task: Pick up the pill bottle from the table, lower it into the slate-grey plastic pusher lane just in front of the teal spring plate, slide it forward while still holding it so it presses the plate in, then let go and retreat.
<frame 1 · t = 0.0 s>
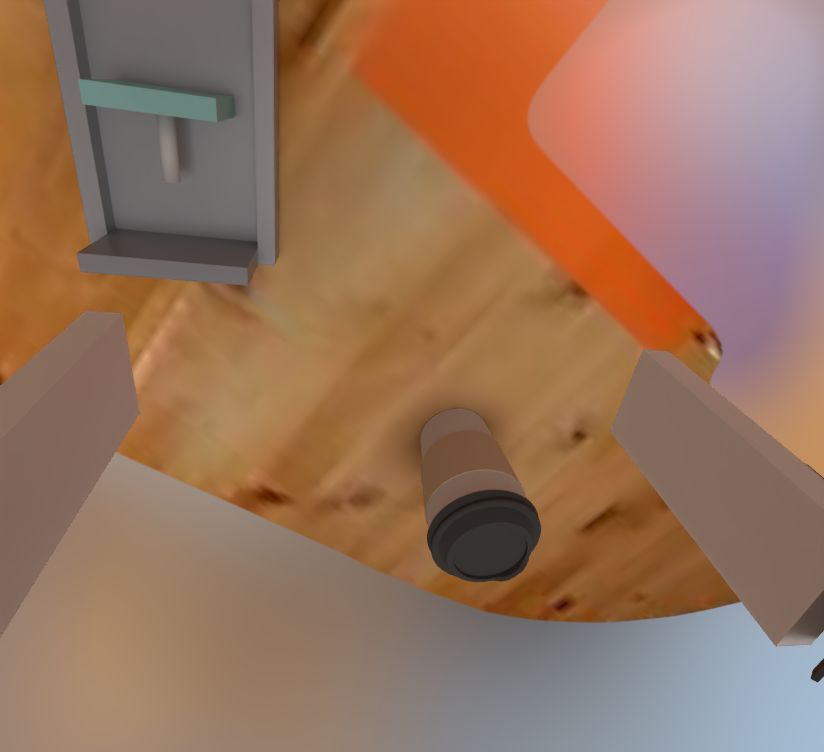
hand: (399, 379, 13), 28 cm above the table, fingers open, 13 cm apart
coffee cup: (453, 434, 50), on the table
lane: (178, 62, 32), on the table
pusher: (167, 136, 30), point 4 cm above the table, slide at 0.0 cm
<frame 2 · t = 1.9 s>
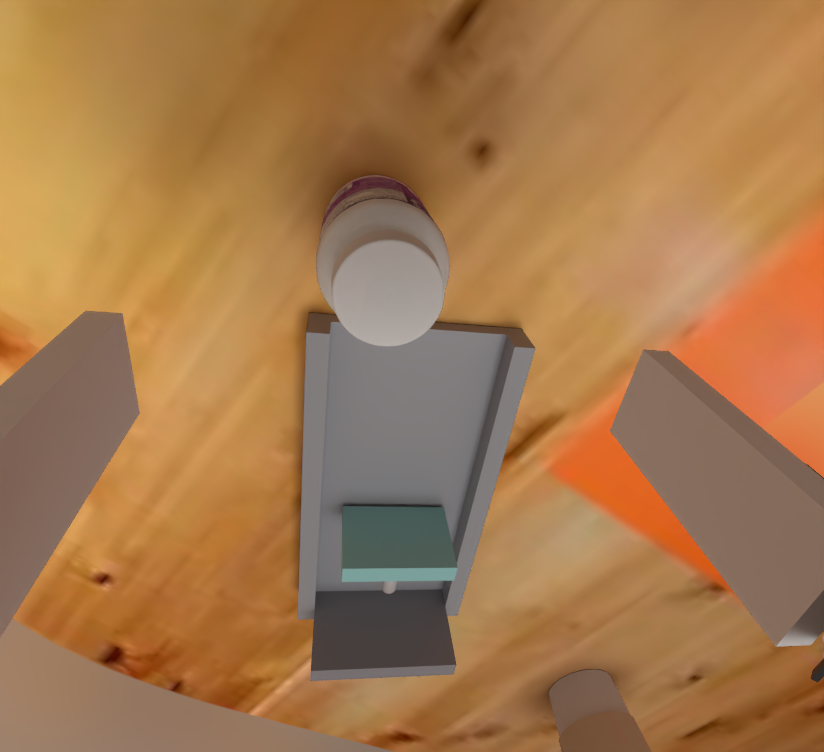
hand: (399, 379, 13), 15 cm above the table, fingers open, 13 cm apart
pill bottle: (375, 226, 25), on the table
coffee cup: (579, 685, 53), on the table
lane: (395, 478, 34), on the table
pusher: (392, 562, 33), point 4 cm above the table, slide at 0.0 cm
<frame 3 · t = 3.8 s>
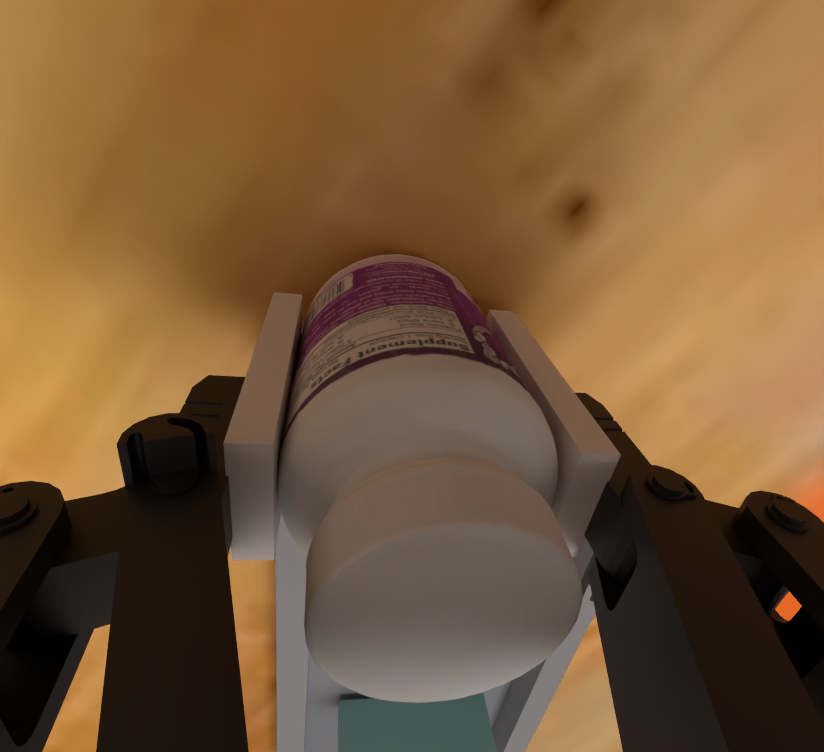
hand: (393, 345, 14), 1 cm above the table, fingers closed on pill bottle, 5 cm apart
pill bottle: (391, 330, 15), on the table, touching gripper
lane: (413, 652, 24), on the table
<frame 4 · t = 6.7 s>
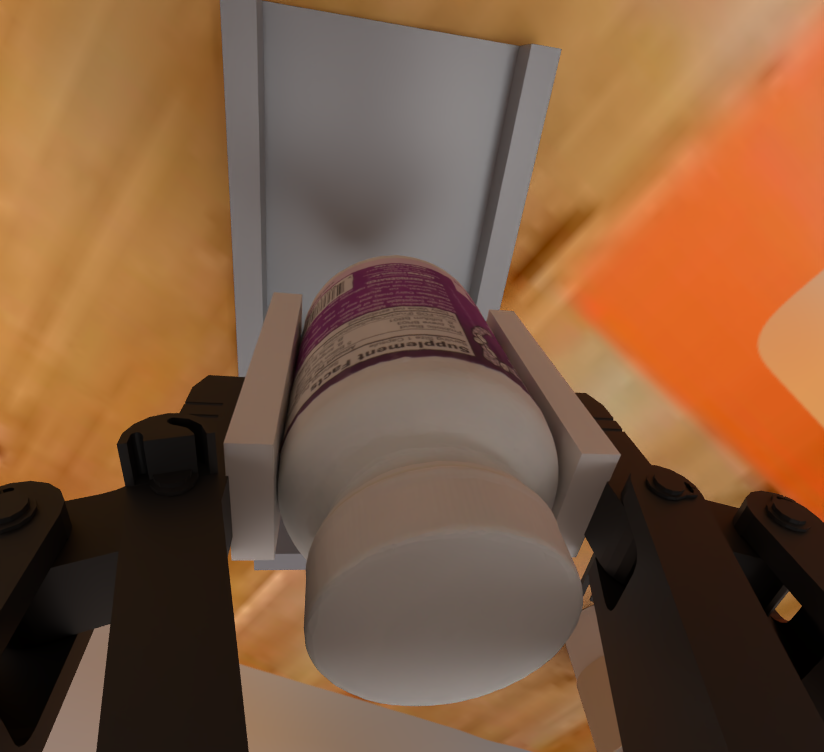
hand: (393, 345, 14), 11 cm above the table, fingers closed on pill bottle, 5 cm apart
pill bottle: (391, 331, 15), point 10 cm above the table, touching gripper
coffee cup: (598, 623, 44), on the table
lane: (368, 304, 26), on the table
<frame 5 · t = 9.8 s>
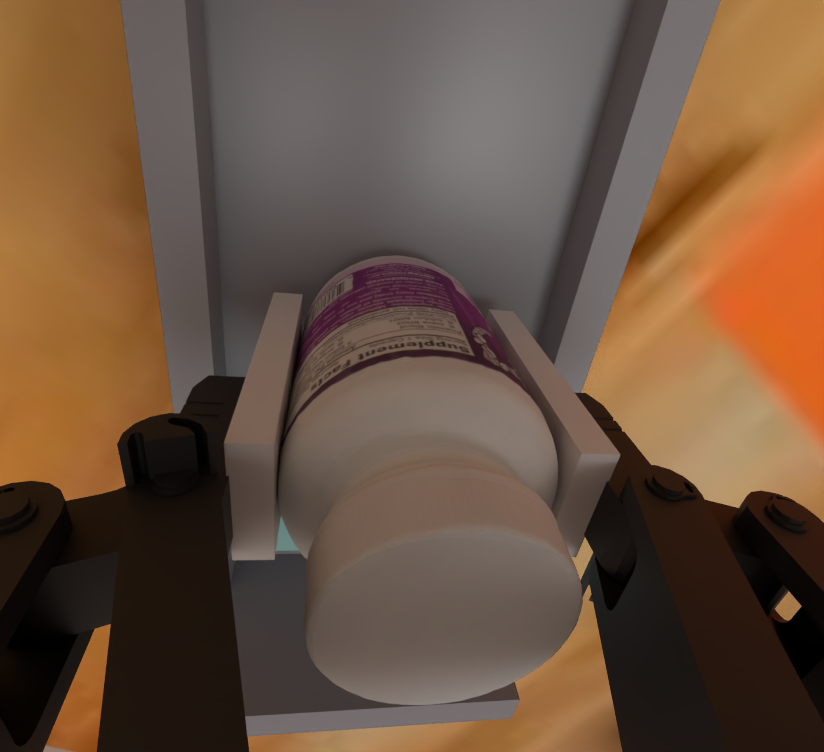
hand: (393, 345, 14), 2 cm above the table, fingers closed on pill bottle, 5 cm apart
pill bottle: (391, 331, 15), point 1 cm above the table, touching gripper
lane: (388, 302, 16), on the table
pusher: (378, 516, 16), point 4 cm above the table, slide at 1.8 cm
when the fingers open (2 cm above the table, at t = 9.8 s): pill bottle stays where it is, resting on lane.
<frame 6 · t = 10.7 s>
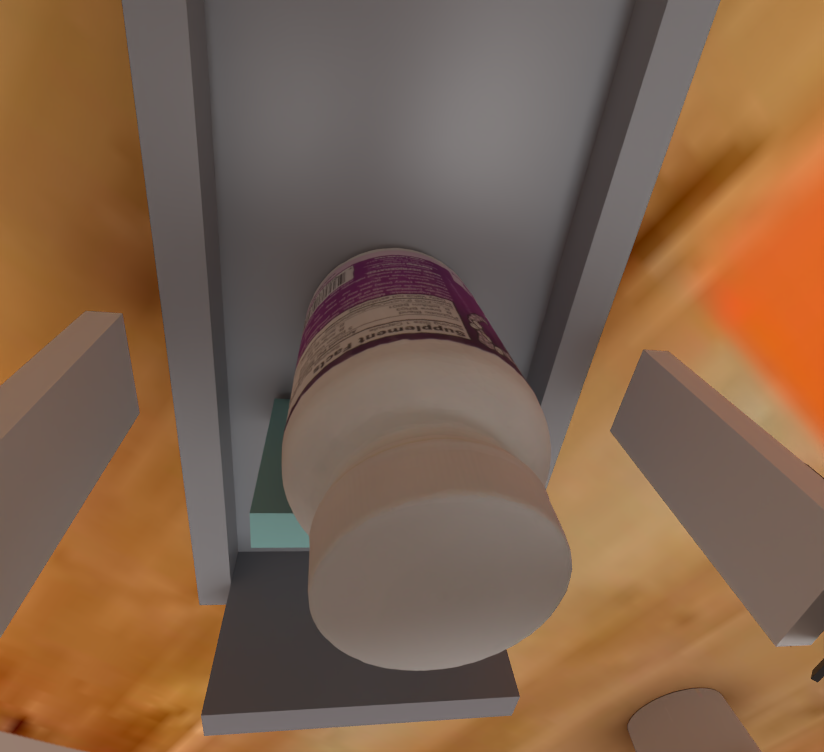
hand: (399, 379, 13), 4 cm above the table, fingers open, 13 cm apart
pill bottle: (390, 323, 16), point 1 cm above the table, touching lane
coffee cup: (673, 711, 35), on the table
lane: (388, 300, 16), on the table
pusher: (378, 514, 16), point 4 cm above the table, slide at 1.8 cm
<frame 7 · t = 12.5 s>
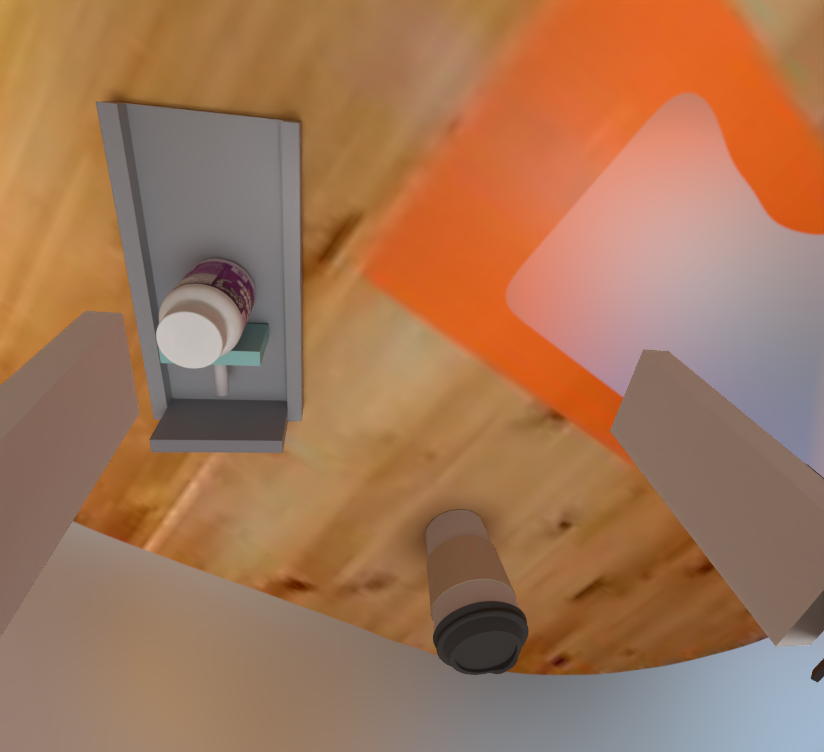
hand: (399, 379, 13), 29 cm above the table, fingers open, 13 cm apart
pill bottle: (223, 288, 39), point 1 cm above the table, touching lane
coffee cup: (454, 529, 57), on the table
lane: (224, 279, 40), on the table
pusher: (220, 365, 39), point 4 cm above the table, slide at 1.8 cm
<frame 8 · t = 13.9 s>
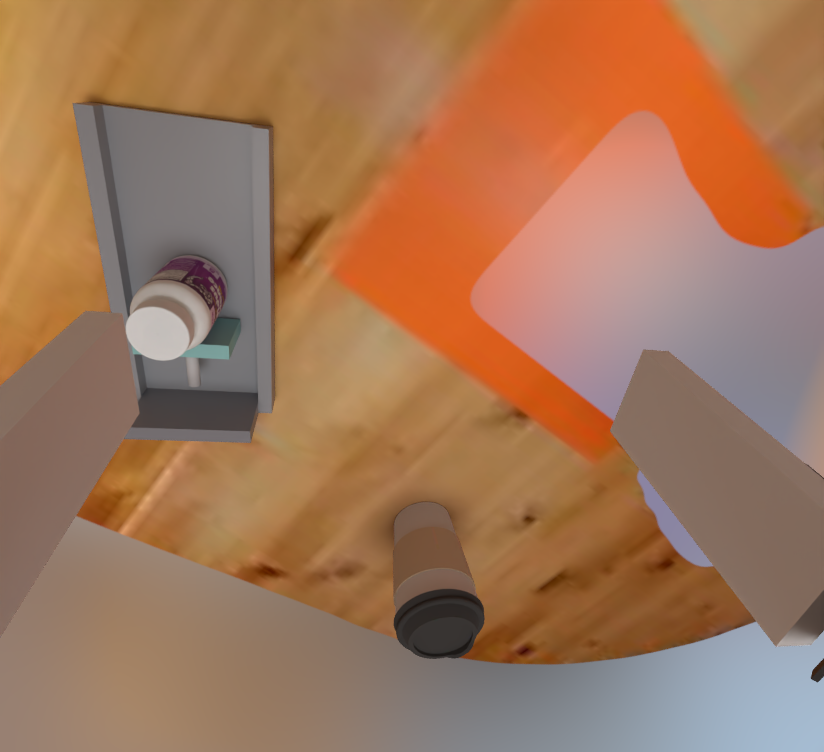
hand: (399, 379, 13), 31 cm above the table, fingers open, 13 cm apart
pill bottle: (196, 283, 41), point 1 cm above the table, touching lane
coffee cup: (421, 521, 60), on the table
lane: (197, 275, 41), on the table
pusher: (192, 357, 41), point 4 cm above the table, slide at 1.8 cm
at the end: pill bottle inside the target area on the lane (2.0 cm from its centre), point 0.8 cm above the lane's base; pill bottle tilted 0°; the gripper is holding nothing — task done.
